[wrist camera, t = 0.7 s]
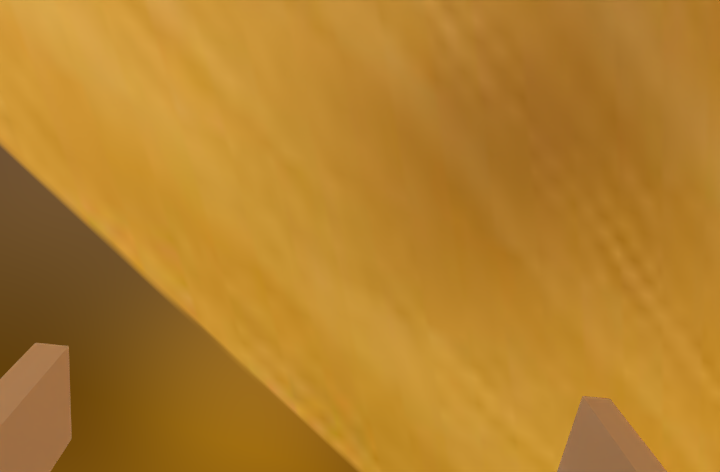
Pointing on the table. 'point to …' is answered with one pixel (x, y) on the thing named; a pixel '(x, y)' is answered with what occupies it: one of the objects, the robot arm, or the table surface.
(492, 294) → the table surface
